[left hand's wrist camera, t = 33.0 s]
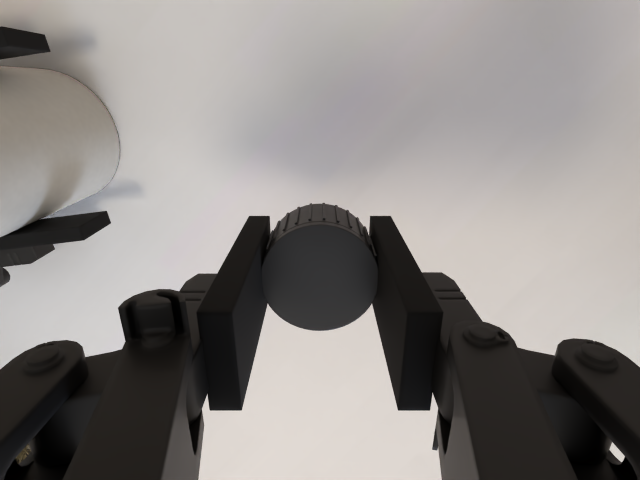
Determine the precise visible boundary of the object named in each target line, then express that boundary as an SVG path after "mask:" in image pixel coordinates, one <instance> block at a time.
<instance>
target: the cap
mask: <svg viewBox="0 0 640 480" xmlns="http://www.w3.org/2000/svg"><path fill="white" fill-rule="evenodd" d="M265 251H266V254H265V257H264V260H263V263H262V267H261V270H262V287H263V295H264V297H265V299H266V301H267V303H268V304H269V306H270V307H271V308H272V310H273V311H274V312H275V313H276V314H277V315H278V316H279V317H281V318H282V319H283V320H285V321H286V322H288V323H290V324H292V325H294V326H297V327H300V328H303V329H307V330H315V331H324V330H332V329H337V328H340V327H343V326H345V325H348V324H350V323H351V322H353V321H355V320H356V319H358V318H359V317H360V316H361V315H362V314H364V313H365V312H366V310H367V309H368V308H369V307H370V305H371V304H372V302H373V300H374V298H375V296H376V294H377V283H378V264H377V261H376V258H377V255H376V252H375V249H374V246H373V243H372V240H371V237H369V235H368V232H367V229H366V227H365V226H364V227H363V225H362V224H361V222H360V221H359V218H358V217H357V218H356V217H355V216H353V215H352V214H351V213H349V211H348V210H347V211H346V210H344V209H342V208H340V207H338V206H337V205H335V206H334V205H328V204H325V203H323V204H312V203H311V204H310V205H306V206H303V207H297V209H296V210H294V211H292V212H290V213H287V214H286V216H285V217H284V218H283V219H282V220H281V221H278V223H277V226H276V228H275V229H274V231H273V230H272V232H271V235H270V237H269V240H268V243H267V246H266V249H265Z"/></svg>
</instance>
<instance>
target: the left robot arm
mask: <svg viewBox="0 0 640 480" xmlns="http://www.w3.org/2000/svg"><path fill="white" fill-rule="evenodd" d="M269 237H270V216H249V217H248V219H247V221H246V223H245V225H244V226H243V228H242V230H241V232H240V234H239V235H238V237H237V239H236V241H235V243H234V245H233V246H232V248H231V250H230V252H229V254H228V255H227V257H226V259H225V261H224V263H223V265H222V266H221V268H220V270H219V272H218V274H197V275H196V276H194V277H193V278H191V279H189V280H188V281H186V282H185V284H184V285H183V287H182V288H181V290H180V291H175V290H171V289H157V290H152V291H146V292H143V293H140V294H137V295H134V296H132V297H131V298H129V299H127V300H126V301H124V302H123V303H122V304H121V305H120V306H119V307H118V310H119V314H120V319H121V323H122V327H123V332H124V336H125V341H126V342H125V344H124V346H123V348H122V350H118V351H114V352H109V353H104V354H99V355H94V356H89V357H85V355H84V351H83V347H82V346H81V345H80V344H79V343H77V342H74V341H68V340H63V341H52V342H47V343H43V344H40V345H37V346H36V347H34V348H31V349H29V350H27V351H25V352H23V353H22V354H20V355H19V356H17V357H16V358H14V359H12V360H11V361H10V362H9V363H8V364H6V365H5V366H4V367H3V368H2V369H0V480H198V476H199V467H200V458H201V449H202V440H203V431H204V421H203V415H202V407H203V404H204V401H205V399H206V396H207V393H208V401H209V408H210V410H242V407H243V403H244V398H245V394H246V390H247V386H248V382H249V378H250V374H251V370H252V365H253V361H254V357H255V353H256V349H257V345H258V341H259V336H260V332H261V328H262V324H263V320H264V316H265V312H266V308H267V301H266V299H265V297H264V295H263V287H262V270H261V267H262V263H263V260H264V257H265V254H266V251H265V249H266V246H267V243H268V240H269ZM369 237H371V240H372V243H373V246H374V249H375V252H376V255H377V258H376V261H377V264H378V283H377V294H376V296H375V298H374V300H373V302H372V304H373V309H374V313H375V317H376V321H377V325H378V329H379V333H380V337H381V342H382V346H383V350H384V354H385V358H386V362H387V366H388V371H389V375H390V379H391V383H392V387H393V391H394V395H395V399H396V404H397V408H398V410H430V406H431V399H432V392H433V395H434V397H435V400H436V403H437V405H438V415H437V421H436V428H435V435H434V441H433V448H432V450H437V449H438V448H439V457H440V466H441V475H442V480H640V367H639V366H637V365H636V364H635V363H634V362H633V361H631V360H630V359H629V358H628V357H626V356H625V355H623V354H622V353H620V352H618V351H617V350H615V349H613V348H611V347H608V346H606V345H604V344H603V343H600V342H596V341H595V342H594V341H592V340H587V339H574V338H573V339H568V340H563V341H562V342H561V343H560V344H558V346H557V350H556V354H555V356H554V355H549V354H544V353H539V352H534V351H529V350H525V349H521V348H517V346H516V343H515V341H514V340H513V339H512V337H511V336H510V335H509V334H508V333H507V332H505V331H504V330H502V329H501V328H500V327H497V326H495V325H492V324H490V323H486V322H483V321H482V320H481V319H480V317H479V316H478V314H477V313H476V311H475V310H474V309H473V307H472V306H471V304H470V303H469V301H468V300H466V297H465V296H464V294H463V293H462V292H461V291H460V288H459V287H458V286H457V284H456V283H455V281H454V280H452V279H451V278H449V277H448V276H446V275H445V274H443V273H422V272H421V270H420V269H419V267H418V265H417V263H416V261H415V260H414V258H413V256H412V254H411V252H410V250H409V249H408V247H407V245H406V243H405V241H404V240H403V238H402V236H401V234H400V232H399V231H398V229H397V227H396V225H395V223H394V221H393V220H392V218H391V216H370V230H369ZM612 442H613V443H614V444H615V445H616V447H617V448H618V449H619V450H620V451H621V452H622V453H623V454H624V456H625V458H624V461H623V462H620V461H619V460H618V459H617V458H616V457H615V456H614V455H613V454H612V453H611V451H610V450H609V449H610V446H611V443H612ZM27 444H29V447H30V449H31V452H30V453H29V454H28V456H27V457H26V458H25V459H24V460H23V461H22V462H20V463H19V464H18V463H17V461H16V459H15V458H16V457H17V456H18V455H19V454H20V452H21V451H22V450H23V449H24V448H25V447H26V446H27Z"/></svg>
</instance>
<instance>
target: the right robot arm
mask: <svg viewBox="0 0 640 480" xmlns="http://www.w3.org/2000/svg"><path fill="white" fill-rule="evenodd" d="M44 52H50V49H49V46H48V43H47V40H46V37H45V35H43V34H38V33H33V32H28V31H22V30H17V29H12V28H7V27H0V59H6V58H12V57H19V56H25V55H32V54H38V53H44ZM110 223H111V222H110V219H109V216H108V213H107V211H103V212H95V213H87V214H79V215H71V216H63V217H55V218H47V219H40V220H37V221H35V222H33V223H30V224H28V225H26V226H24V227H22V228H19V229H17V230H15V231H13V232H11V233H9V234H6V235H4V236H2V237H0V287H1V286H2V285H4V284H6V283H7V282H9V280H10V275H9V273H8V271H7V270H6V269H4V268H3V267H6V266H14V265H21V264H22V265H23V264H31V263H33V262H34V261H36V260H38V259H39V258H41V257H43V256H44V255H46V254H48V253H49V252H51V251H53V250H54V249H55V248H54V246H53V244H57V243H65V242H73V241H81V240H85V239H87V238H88V237H90V236H91V235H93V234H95V233H96V232H98V231H99V230H101V229H102V228H104V227H106V226H107V225H109V224H110Z"/></svg>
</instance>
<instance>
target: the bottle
mask: <svg viewBox="0 0 640 480" xmlns="http://www.w3.org/2000/svg"><path fill="white" fill-rule="evenodd" d="M119 156H120V145H119V138H118V133H117V130H116V127H115V124H114V122H113V120H112V117H111V115H110V114H109V112H108V110H107V109H106V107H105V106H104V105H103V103H102V102H101V101H100V99H99V98H98V97H97V96H96V95H95V94H94V93H93V92H92V91H91V90H89V89H88V88H87V87H86V86H85V85H83V84H82V83H80V82H79V81H77V80H76V79H74V78H72V77H70V76H68V75H65V74H63V73H60V72H57V71H53V70H47V69H36V68H22V67H7V66H0V237H2V236H4V235H6V234H9V233H11V232H13V231H15V230H17V229H19V228H22V227H24V226H26V225H28V224H30V223H33V222H35V221H37V220H39V219H41V218H43V217H46V216H48V215H50V214H52V213H54V212H56V211H59V210H61V209H63V208H65V207H67V206H70V205H72V204H74V203H76V202H78V201H80V200H83V199H85V198H87V197H89V196H91V195H93V194H96V193H97V192H99V191H100V190H102V189H103V188H104V187H105V186H106V185H107V184H108V183H109V182H110V181H111V179H112V178H113V176H114V174H115V172H116V169H117V166H118V162H119Z"/></svg>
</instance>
